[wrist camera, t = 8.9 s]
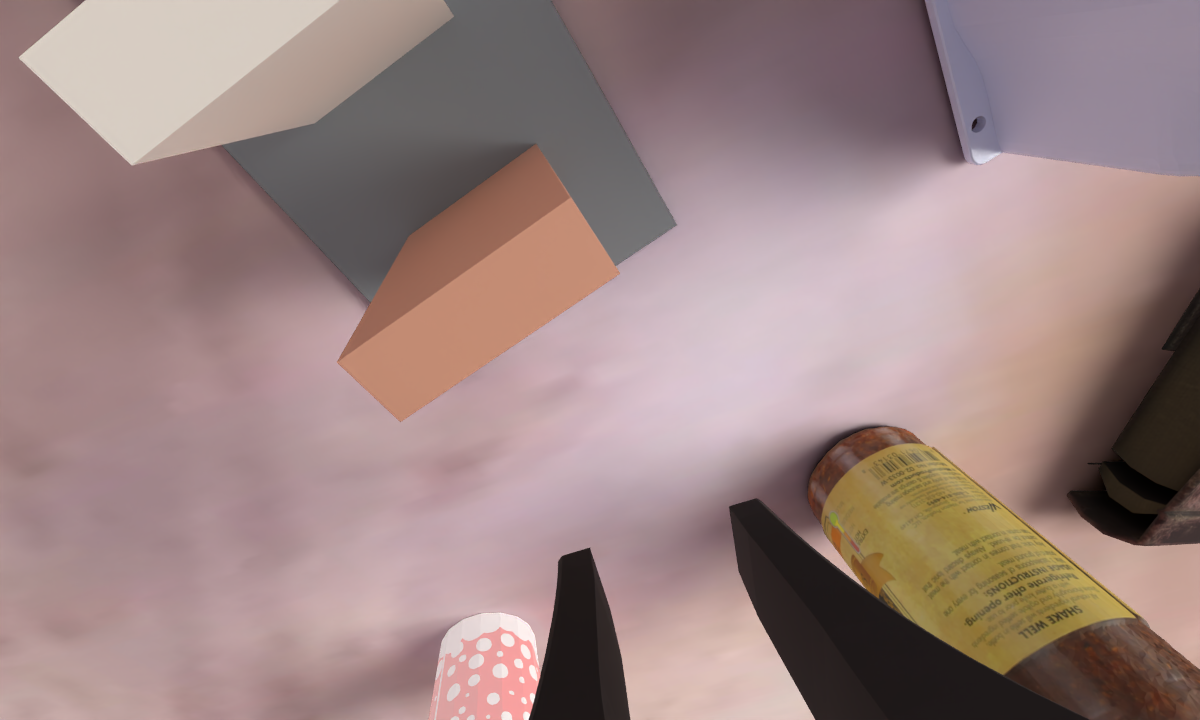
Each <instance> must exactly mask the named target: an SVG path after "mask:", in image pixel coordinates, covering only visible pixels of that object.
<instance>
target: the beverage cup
mask: <svg viewBox="0 0 1200 720" xmlns="http://www.w3.org/2000/svg"><path fill="white" fill-rule="evenodd" d="M539 679H540V670H539V663H538V656H537V649H536V641H535V635H534V633H533V631H532V629H531V627H530V626H529V624H527V623H526V622H524V621H523V620H521V619H520V618H519V617H517V616H513V615H509V614H505V613H500V612H498V613H481V614H478V615H475V616H472V617H469V618H465V619H463V620H461V621H460V622H459V623H457V624H456V625H454V626H453V627H452V628H450V629H449V630H448V632H447V634H446V635H445V637H444V638H443V640H442V643H441V649H440V655H439V661H438V667H437V673H436V679H435V685H434V690H433V696H432V702H431V708H430V714H429V720H529V716H530V713H531V710H532V706H533V702H534V698H535V694H536V691H537V687H538V683H539Z"/></svg>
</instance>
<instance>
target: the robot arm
mask: <svg viewBox="0 0 1200 720" xmlns="http://www.w3.org/2000/svg"><path fill="white" fill-rule="evenodd" d="M925 3H926V7H927V11H928V15H929V19H930V23H931V27H932V31H933V35H934V39H935V43H936V47H937V51H938V55H939V59H940V63H941V67H942V71H943V75H944V79H945V83H946V87H947V91H948V94H949V98H950V102H951V106H952V110H953V114H954V118H955V122H956V126H957V130H958V134H959V138H960V142H961V146H962V150H963V154H964V158H965V159H966V161H967V162H968V163H970V164H975V165H982V164H984V163H987V162H988V161H990V160H991V159H993V158H994V157H996V156H998V155H999V154H1001V153H1002V152H1004V153H1011V154H1018V155H1025V156H1032V157H1039V158H1046V159H1053V160H1061V161H1068V162H1075V163H1082V164H1089V165H1096V166H1103V167H1110V168H1117V169H1125V170H1132V171H1139V172H1146V173H1153V174H1160V175H1172V176H1200V0H925ZM976 118H977V124H976V126H975V128H974V129H973V130H972V123H973V121H974V120H975V119H976ZM729 509H730V516H731V523H732V529H733V536H734V543H735V550H736V556H737V563H738V570H739V573H740V575H741V578H742V580H743V583H744V585H745V587H746V590H747V592H748V594H749V597H750V599H751V601H752V604H753V606H754V608H755V610H756V613H757V615H758V617H759V619H760V621H761V623H762V625H763V626H764V628H765V630H766V632H767V634H768V635H769V637H770V639H771V641H772V643H773V644H774V646H775V648H776V650H777V652H778V654H779V655H780V657H781V659H782V661H783V662H784V664H785V666H786V668H787V670H788V671H789V673H790V675H791V677H792V679H793V680H794V682H795V684H796V686H797V688H798V689H799V691H800V693H801V695H802V697H803V698H804V700H805V702H806V704H807V705H808V707H809V709H810V711H811V713H812V714H813V716H814V718H815V720H1090V719H1088V718H1086V717H1084V716H1082V715H1080V714H1078V713H1076V712H1074V711H1072V710H1070V709H1068V708H1066V707H1064V706H1061V705H1059V704H1057V703H1055V702H1053V701H1051V700H1049V699H1047V698H1045V697H1043V696H1041V695H1039V694H1037V693H1035V692H1033V691H1032V690H1030V689H1028V688H1026V687H1024V686H1022V685H1021V684H1019V683H1017V682H1015V681H1013V680H1011V679H1010V678H1008V677H1006V676H1004V675H1002V674H1000V673H998V672H997V671H995V670H993V669H991V668H989V667H987V666H986V665H984V664H982V663H980V662H978V661H976V660H974V659H973V658H971V657H969V656H967V655H966V654H964V653H962V652H961V651H959V650H957V649H956V648H954V647H952V646H951V645H949V644H947V643H946V642H944V641H942V640H941V639H939V638H937V637H936V636H934V635H933V634H931V633H929V632H928V631H926V630H925V629H923V628H922V627H920V626H919V625H917V624H915V623H914V622H912V621H911V620H909V619H908V618H906V617H905V616H903V615H902V614H900V613H899V612H897V611H896V610H894V609H893V608H891V607H890V606H889V605H887V604H886V603H884V602H883V601H881V600H880V599H879V598H877V597H876V596H874V595H873V594H872V593H870V592H869V591H868V590H866V589H865V588H863V587H862V586H861V585H859V584H858V583H857V582H855V581H854V580H853V579H851V578H850V577H849V576H847V575H846V574H845V573H844V572H842V571H841V570H840V569H839V568H837V567H836V566H835V565H834V564H832V563H831V562H830V561H829V560H827V559H826V558H825V557H824V556H822V555H821V554H820V553H819V552H817V551H816V550H815V549H814V548H813V547H811V546H810V545H809V544H808V543H807V542H805V541H804V540H803V539H802V538H801V537H800V536H799V535H797V534H796V533H795V532H794V531H793V530H792V529H791V528H789V527H788V526H787V525H786V524H785V523H784V522H783V521H782V520H781V519H780V518H779V517H777V516H776V515H775V514H774V513H773V512H772V511H771V510H770V509H769V508H768V507H767V506H766V505H765V504H764V503H763V502H762V501H760V500H758V499H753V500H749V501H746V502H742V503H739V504H736V505H732V506H729ZM529 720H630V714H629V707H628V700H627V693H626V686H625V678H624V671H623V664H622V658H621V654H620V649H619V645H618V641H617V636H616V632H615V628H614V624H613V619H612V615H611V611H610V608H609V604H608V601H607V598H606V595H605V592H604V589H603V586H602V583H601V580H600V577H599V574H598V571H597V568H596V565H595V562H594V559H593V556H592V553H591V550H590V548H587V549H584V550H581V551H577V552H574V553H570V554H567V555H564V556H562V557H561V558H560V560H559V561H558V579H557V590H556V598H555V605H554V611H553V618H552V623H551V628H550V633H549V638H548V644H547V649H546V654H545V658H544V663H543V667H542V671H541V675H540V679H539V683H538V687H537V691H536V694H535V698H534V702H533V706H532V710H531V713H530V716H529Z"/></svg>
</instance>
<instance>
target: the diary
mask: <svg viewBox="0 0 1200 720" xmlns="http://www.w3.org/2000/svg"><path fill="white" fill-rule="evenodd" d="M1162 349H1163V350H1170V351H1175V352H1174V354H1173V355H1172V357H1171V358H1170V360H1169V361H1168V363H1167V364H1166V366H1165V367H1164V369H1163V370H1162V372H1161V373H1160V375H1159V377H1158V378H1157V380H1156V381H1155V383H1154V384H1153V386H1152V387H1151V389H1150V390H1149V392H1148V393H1147V395H1146V396H1145V398H1144V399H1143V401H1142V403H1141V404H1140V406H1139V407H1138V409H1137V410H1136V412H1135V413H1134V415H1133V416H1132V418H1131V419H1130V421H1129V422H1128V424H1127V425H1126V427H1125V429H1124V430H1123V432H1122V433H1121V435H1120V436H1119V438H1118V439H1117V441H1116V442H1115V444H1114V445H1113V447H1112V449H1113V450H1114V451H1115V452H1116V453H1117V454H1118V455H1119V456H1120V457H1121V458H1122V459H1123V460H1124V461H1125V462H1108V461H1103V462H1102V463H1088V464H1101V465H1100V467H1099V468H1098V469H1099V471H1100V474H1101V477H1102V479H1103V482H1104V485H1105V487H1106V490H1107V491H1070V492H1069V493H1068V494H1067V497H1068V498H1069V500H1070V501H1071V503H1072V504H1073V505H1074V507H1075V508H1076V510H1077V511H1078V513H1079V514H1080V516H1081V517H1082V518H1084V519H1085V520H1086V521H1087V522H1089V523H1090V524H1091V525H1093V526H1094V527H1095V528H1096V529H1098V530H1099V531H1100V532H1102V533H1103V534H1105V535H1108V536H1111V537H1113V538H1116V539H1119V540H1122V541H1125V542H1127V543H1130V544H1133V545H1141V546H1160V545H1179V544H1197V543H1200V289H1199V291H1198V292H1197V294H1196V295H1195V297H1194V298H1193V300H1192V302H1191V303H1190V305H1189V306H1188V308H1187V310H1186V311H1185V313H1184V314H1183V316H1182V317H1181V319H1180V321H1179V322H1178V324H1177V325H1176V327H1175V329H1174V330H1173V332H1172V333H1171V335H1170V336H1169V338H1168V340H1167V341H1166V343H1165V344H1164V346H1163V347H1162Z"/></svg>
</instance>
